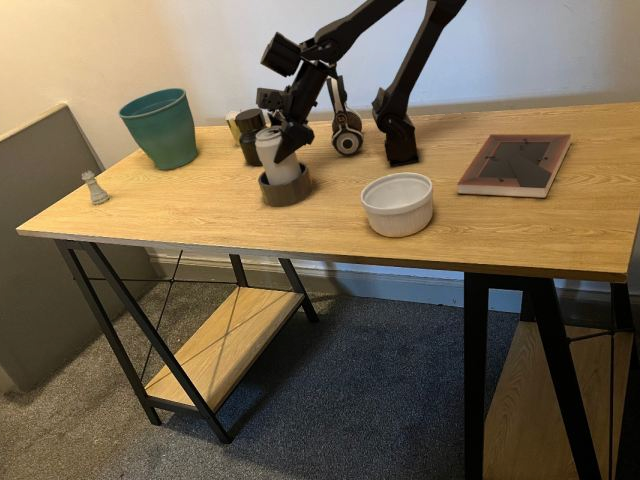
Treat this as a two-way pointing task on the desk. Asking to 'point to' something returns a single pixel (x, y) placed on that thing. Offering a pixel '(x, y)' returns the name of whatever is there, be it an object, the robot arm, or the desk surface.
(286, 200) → the bowl
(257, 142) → the can
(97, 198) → the rook chess piece
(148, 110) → the flower pot
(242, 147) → the ink bottle
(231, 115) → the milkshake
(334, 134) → the headset
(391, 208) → the ramekin
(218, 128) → the desk surface
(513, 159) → the picture frame
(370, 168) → the desk surface
